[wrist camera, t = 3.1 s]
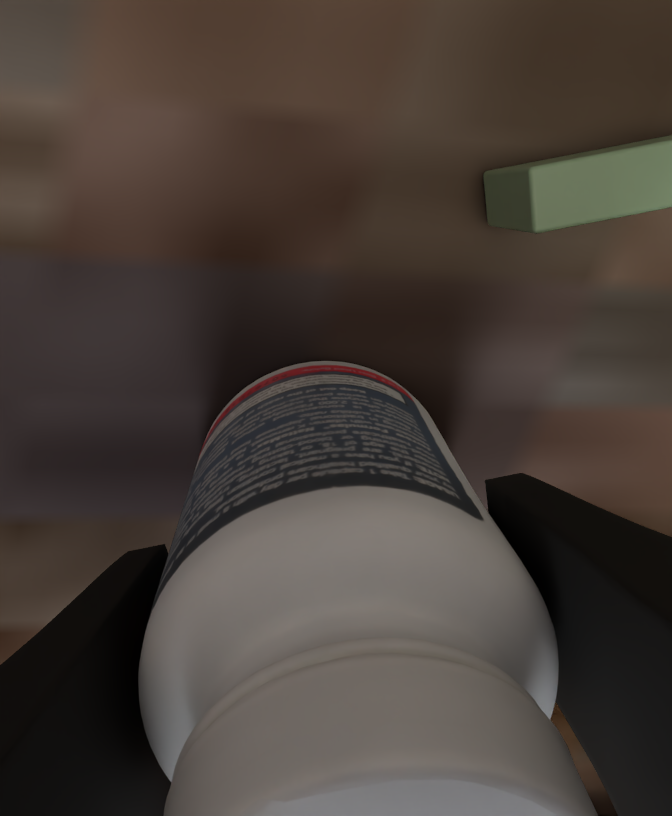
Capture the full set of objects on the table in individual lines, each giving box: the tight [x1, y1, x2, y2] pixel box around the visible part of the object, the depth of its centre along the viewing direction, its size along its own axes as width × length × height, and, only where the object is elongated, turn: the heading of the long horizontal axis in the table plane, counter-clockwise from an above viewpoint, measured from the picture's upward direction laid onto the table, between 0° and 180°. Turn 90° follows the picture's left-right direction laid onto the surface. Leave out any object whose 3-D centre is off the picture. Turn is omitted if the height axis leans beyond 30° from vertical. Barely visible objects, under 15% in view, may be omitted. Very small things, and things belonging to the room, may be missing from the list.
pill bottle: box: [138, 361, 598, 816], centre depth 9 cm, size 5×5×9 cm
